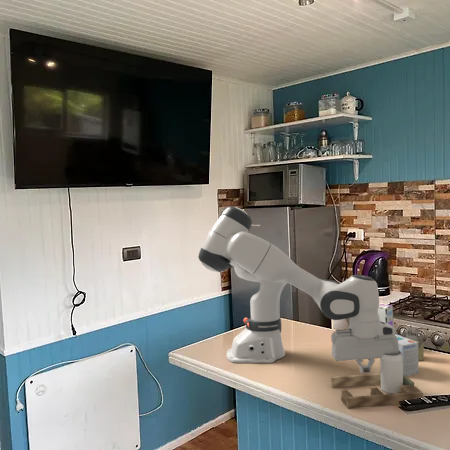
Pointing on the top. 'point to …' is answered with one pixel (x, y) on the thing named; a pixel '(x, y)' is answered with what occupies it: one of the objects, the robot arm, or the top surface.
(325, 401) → the top surface
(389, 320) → the candy box
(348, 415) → the top surface
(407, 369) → the light bulb box
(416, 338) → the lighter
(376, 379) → the trap box
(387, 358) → the can
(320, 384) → the top surface
